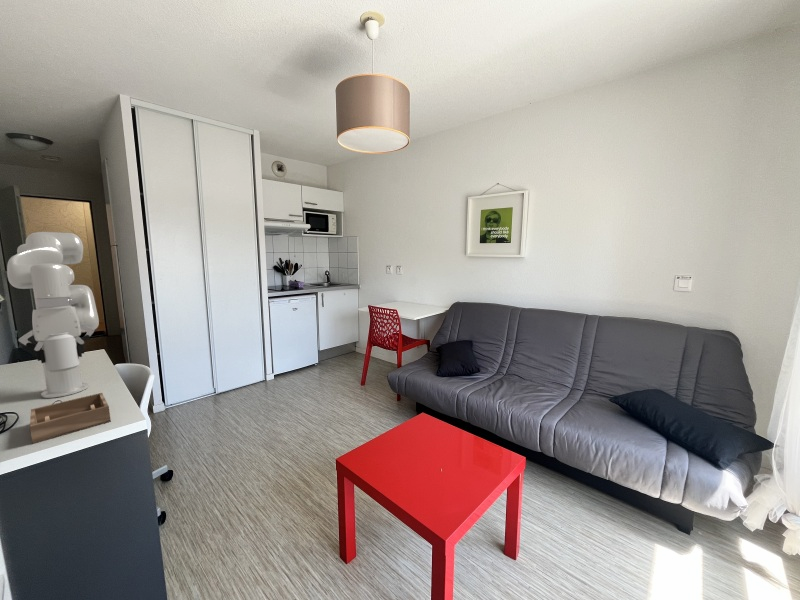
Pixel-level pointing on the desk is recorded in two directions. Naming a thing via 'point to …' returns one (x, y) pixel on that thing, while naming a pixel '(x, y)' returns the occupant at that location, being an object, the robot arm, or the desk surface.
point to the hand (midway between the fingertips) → (62, 358)
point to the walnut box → (68, 417)
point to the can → (60, 352)
